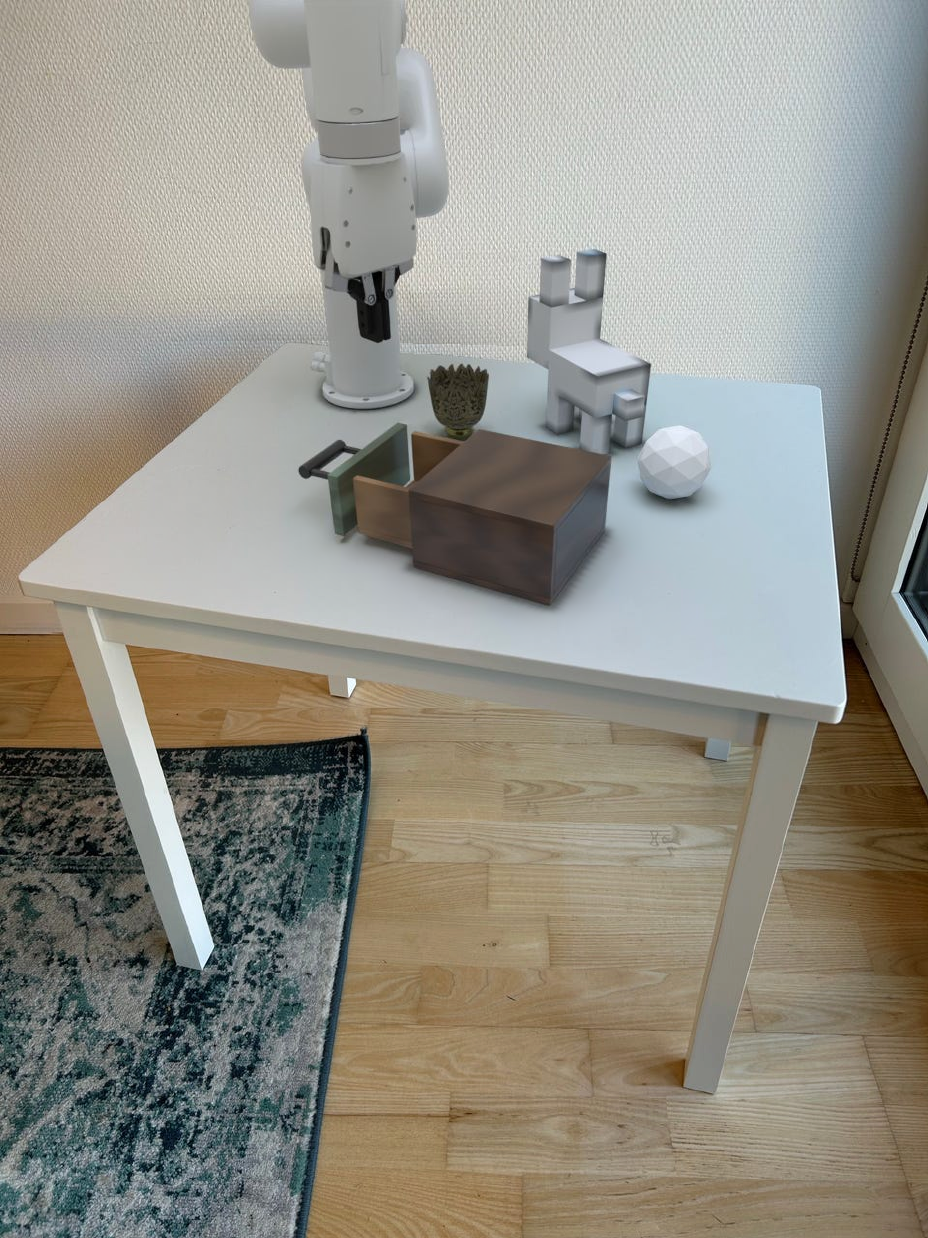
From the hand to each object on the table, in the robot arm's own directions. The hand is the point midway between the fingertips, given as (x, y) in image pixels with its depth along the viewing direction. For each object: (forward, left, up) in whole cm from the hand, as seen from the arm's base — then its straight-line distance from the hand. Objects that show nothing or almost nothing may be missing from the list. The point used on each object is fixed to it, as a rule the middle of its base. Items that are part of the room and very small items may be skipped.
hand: (375, 337), depth 90 cm
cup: (+3, +13, -16) cm, 21 cm away
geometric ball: (+31, +10, -16) cm, 36 cm away
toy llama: (+17, +21, -16) cm, 32 cm away
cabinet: (+20, -8, -16) cm, 27 cm away
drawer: (+6, -8, -15) cm, 18 cm away
